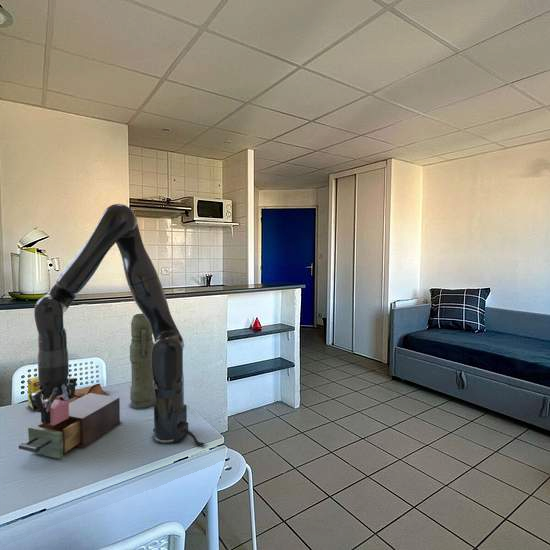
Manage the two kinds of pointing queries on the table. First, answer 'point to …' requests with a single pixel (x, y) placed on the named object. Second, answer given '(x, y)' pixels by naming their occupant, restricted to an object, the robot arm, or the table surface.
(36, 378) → the supplement box
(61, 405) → the block
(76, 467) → the table surface
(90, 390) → the sunglasses case
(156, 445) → the table surface
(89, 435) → the cabinet
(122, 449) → the table surface
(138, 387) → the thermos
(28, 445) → the drawer
